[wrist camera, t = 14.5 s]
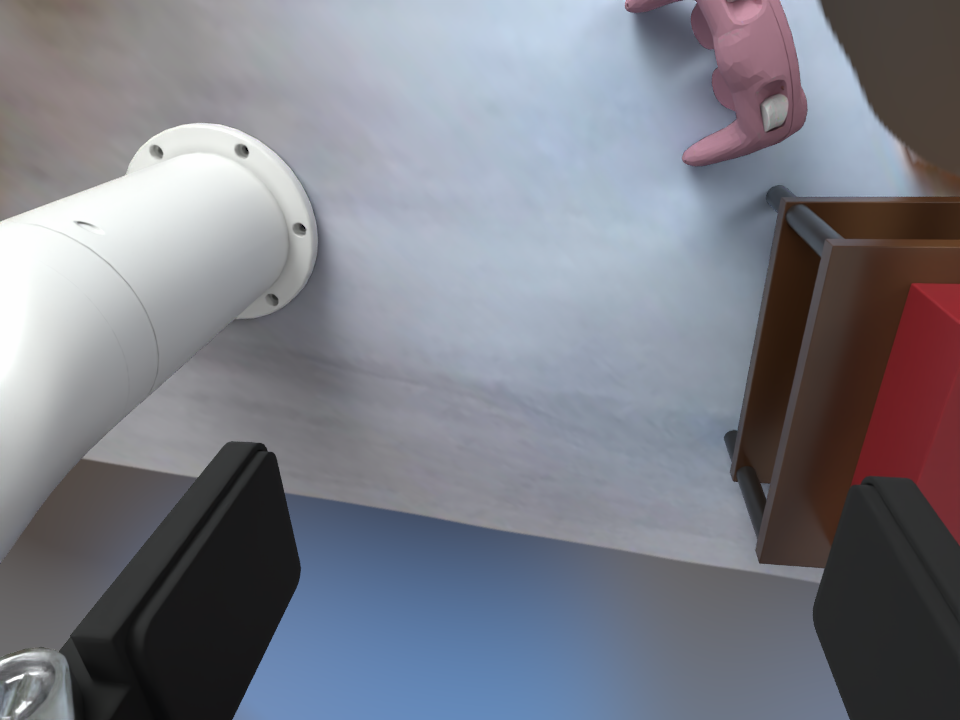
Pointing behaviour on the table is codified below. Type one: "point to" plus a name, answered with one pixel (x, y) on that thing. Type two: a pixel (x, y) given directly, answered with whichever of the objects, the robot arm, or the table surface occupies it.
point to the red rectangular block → (921, 403)
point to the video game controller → (745, 74)
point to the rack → (827, 354)
